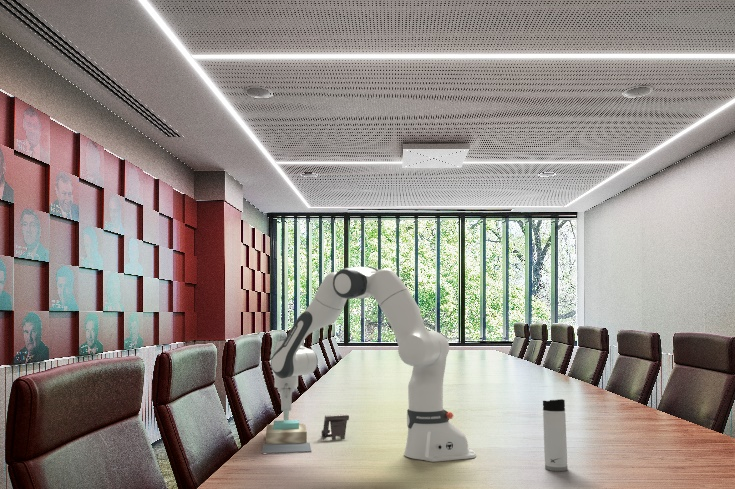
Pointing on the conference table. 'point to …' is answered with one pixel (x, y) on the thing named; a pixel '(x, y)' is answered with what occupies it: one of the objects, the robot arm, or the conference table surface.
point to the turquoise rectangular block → (286, 424)
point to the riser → (286, 435)
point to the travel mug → (555, 435)
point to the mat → (286, 448)
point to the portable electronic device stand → (335, 426)
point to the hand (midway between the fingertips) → (286, 419)
